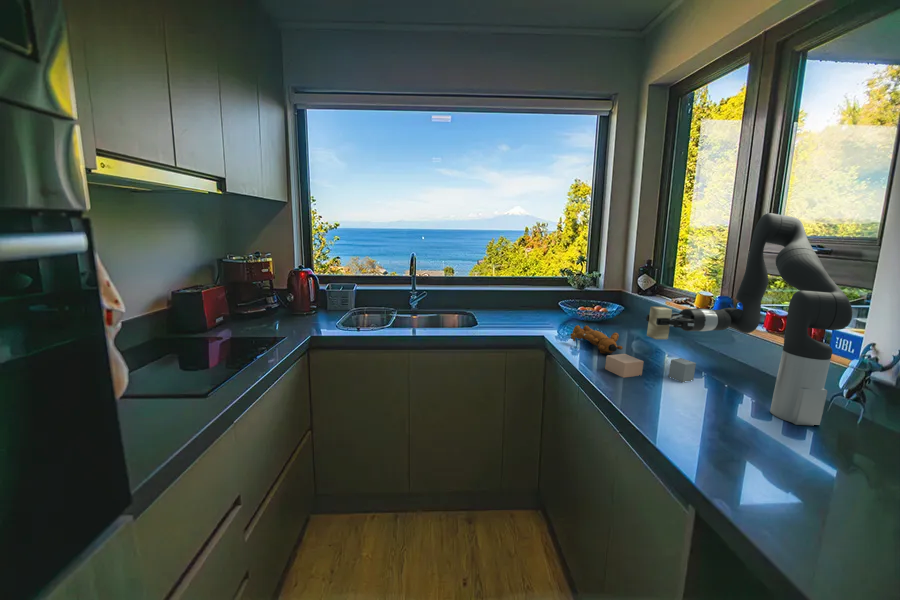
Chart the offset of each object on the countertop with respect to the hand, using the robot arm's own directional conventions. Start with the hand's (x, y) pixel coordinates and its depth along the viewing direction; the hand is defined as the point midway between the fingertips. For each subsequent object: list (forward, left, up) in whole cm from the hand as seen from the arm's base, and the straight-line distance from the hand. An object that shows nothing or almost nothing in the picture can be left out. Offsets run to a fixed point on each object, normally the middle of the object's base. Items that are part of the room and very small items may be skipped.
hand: (652, 319), depth 130 cm
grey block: (-6, -9, -18) cm, 21 cm away
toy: (+28, +7, -18) cm, 35 cm away
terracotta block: (-2, +8, -18) cm, 20 cm away
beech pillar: (0, -3, -6) cm, 7 cm away
